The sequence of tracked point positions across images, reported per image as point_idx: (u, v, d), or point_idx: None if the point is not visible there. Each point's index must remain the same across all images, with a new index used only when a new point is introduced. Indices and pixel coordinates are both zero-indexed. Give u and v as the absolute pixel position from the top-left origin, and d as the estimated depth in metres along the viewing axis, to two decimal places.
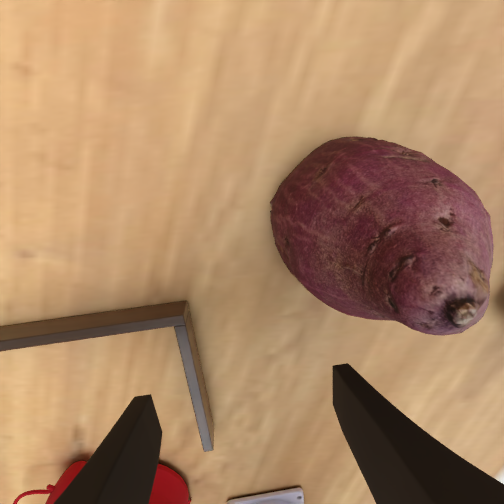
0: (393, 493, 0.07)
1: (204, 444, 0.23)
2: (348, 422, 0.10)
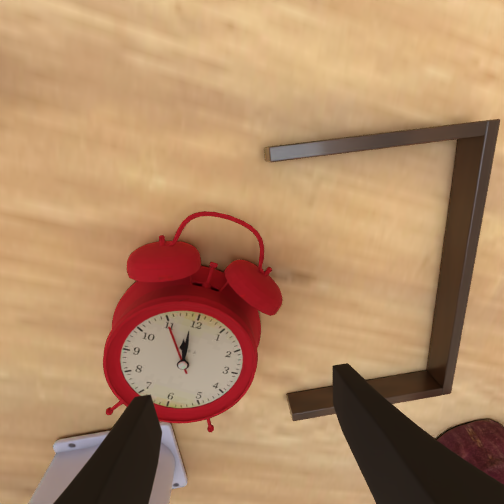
0: (392, 493, 0.07)
1: (303, 414, 0.22)
2: (349, 422, 0.10)
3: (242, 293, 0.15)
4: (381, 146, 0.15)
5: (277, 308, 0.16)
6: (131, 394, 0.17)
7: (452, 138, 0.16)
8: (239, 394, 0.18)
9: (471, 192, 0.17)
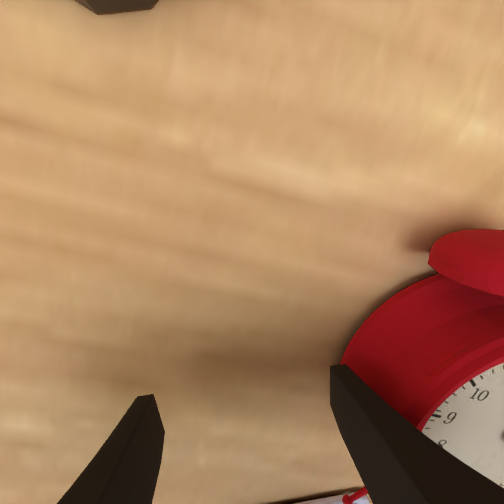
0: (389, 494, 0.07)
1: None
2: (346, 422, 0.10)
3: None
4: None
5: None
6: None
7: None
8: None
9: None
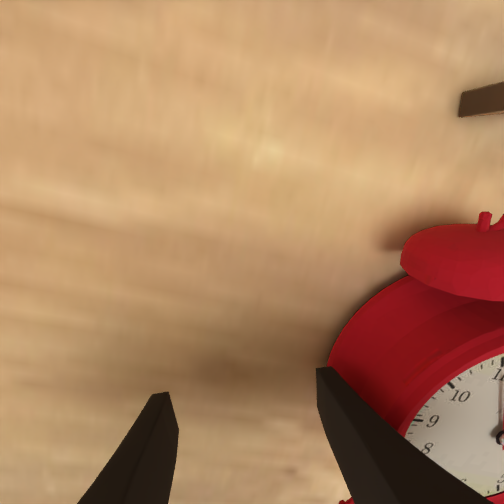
0: (369, 498, 0.07)
1: None
2: (330, 425, 0.10)
3: None
4: None
5: None
6: None
7: None
8: None
9: None
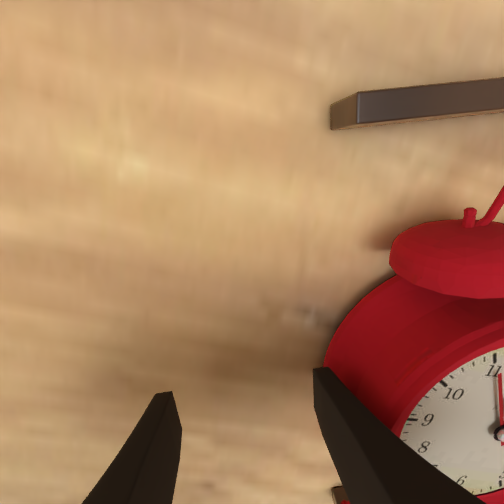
0: (364, 499, 0.07)
1: None
2: (327, 425, 0.10)
3: None
4: None
5: None
6: None
7: None
8: None
9: None
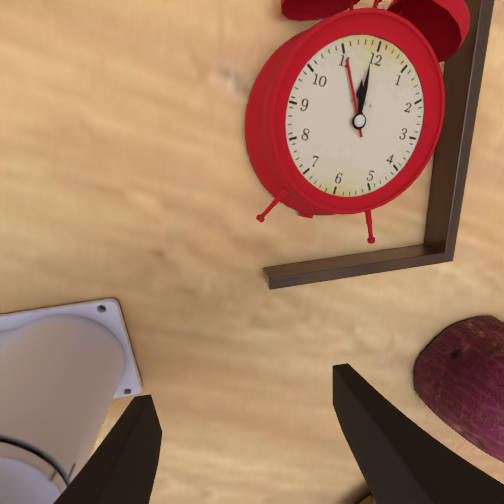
0: (393, 493, 0.07)
1: (282, 279, 0.18)
2: (348, 422, 0.10)
3: None
4: None
5: (467, 32, 0.13)
6: (295, 175, 0.14)
7: None
8: (419, 166, 0.15)
9: None
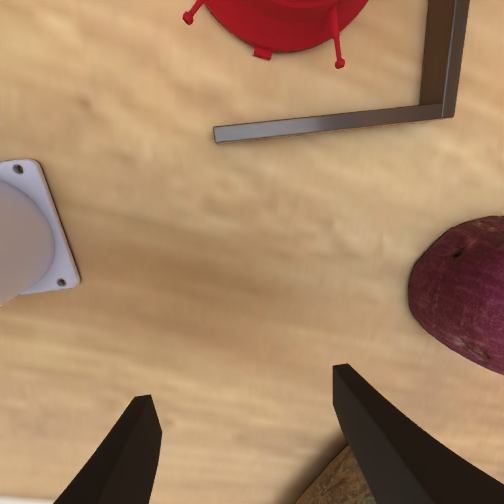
0: (393, 493, 0.07)
1: (230, 128, 0.14)
2: (348, 421, 0.10)
3: None
4: None
5: None
6: None
7: None
8: None
9: None
